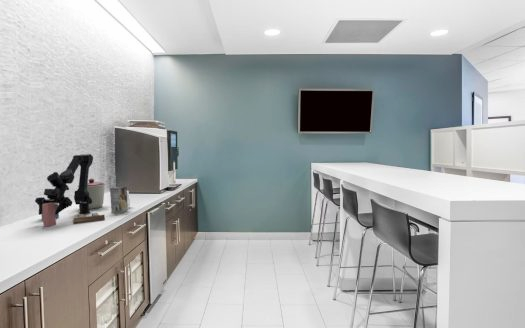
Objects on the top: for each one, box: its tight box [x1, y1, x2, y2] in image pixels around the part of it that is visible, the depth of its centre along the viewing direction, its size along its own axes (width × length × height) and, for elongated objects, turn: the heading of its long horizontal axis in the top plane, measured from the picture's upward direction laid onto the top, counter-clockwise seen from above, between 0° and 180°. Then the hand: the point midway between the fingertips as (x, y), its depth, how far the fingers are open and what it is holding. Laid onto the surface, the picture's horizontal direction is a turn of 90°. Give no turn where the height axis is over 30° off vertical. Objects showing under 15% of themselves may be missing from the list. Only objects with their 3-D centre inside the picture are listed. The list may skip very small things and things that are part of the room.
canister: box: [77, 178, 106, 210], centre depth 241 cm, size 18×18×21 cm
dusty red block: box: [42, 202, 57, 228], centre depth 187 cm, size 6×3×12 cm, turn 178°
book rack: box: [72, 212, 106, 225], centre depth 199 cm, size 11×16×3 cm
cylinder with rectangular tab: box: [127, 190, 131, 209], centre depth 238 cm, size 9×9×12 cm
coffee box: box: [109, 186, 129, 214], centre depth 223 cm, size 9×6×16 cm
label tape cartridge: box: [40, 198, 60, 220], centre depth 207 cm, size 9×4×12 cm, turn 115°
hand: (47, 214), depth 185 cm, fingers open, 9 cm apart
